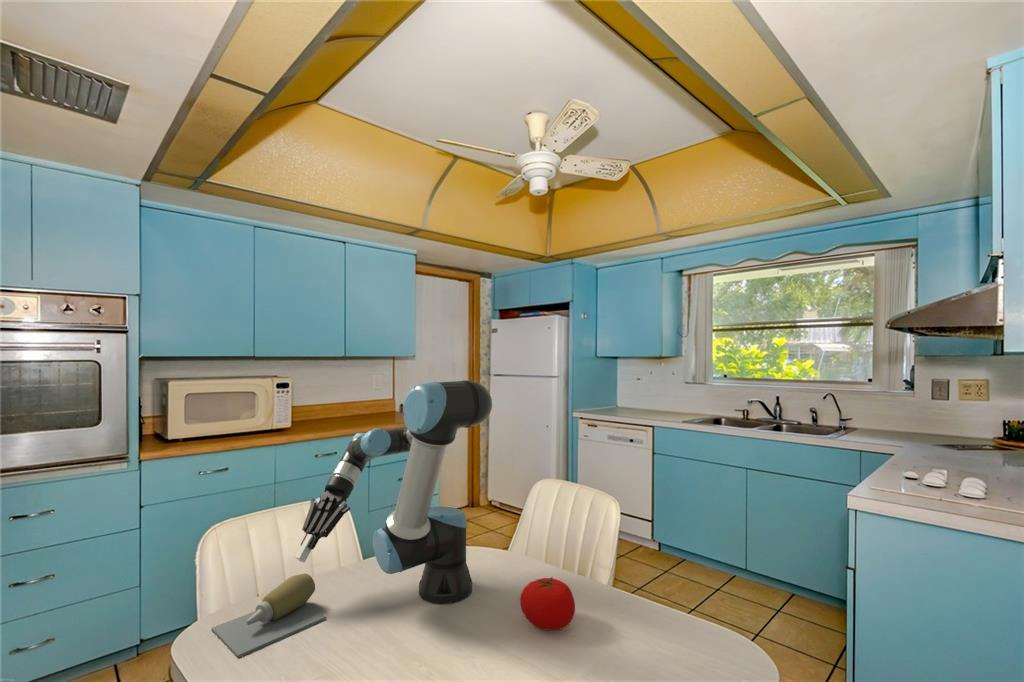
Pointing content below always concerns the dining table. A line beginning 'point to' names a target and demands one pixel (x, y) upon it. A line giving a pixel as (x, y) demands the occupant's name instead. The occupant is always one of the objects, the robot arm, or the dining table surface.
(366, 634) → the dining table surface
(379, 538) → the robot arm
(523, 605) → the tomato
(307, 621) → the rubber mat
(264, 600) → the squeeze bottle
